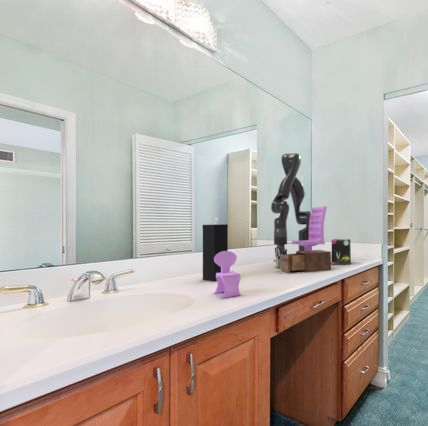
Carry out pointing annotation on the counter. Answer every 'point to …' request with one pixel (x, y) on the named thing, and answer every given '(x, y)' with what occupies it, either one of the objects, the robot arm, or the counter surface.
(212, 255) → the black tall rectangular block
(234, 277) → the toy chair
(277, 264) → the block
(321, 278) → the counter surface
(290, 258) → the drawer
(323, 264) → the cabinet
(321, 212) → the purple chair
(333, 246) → the tampon box
